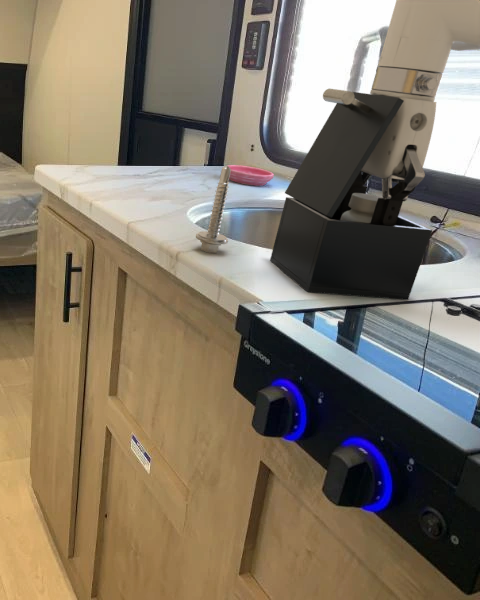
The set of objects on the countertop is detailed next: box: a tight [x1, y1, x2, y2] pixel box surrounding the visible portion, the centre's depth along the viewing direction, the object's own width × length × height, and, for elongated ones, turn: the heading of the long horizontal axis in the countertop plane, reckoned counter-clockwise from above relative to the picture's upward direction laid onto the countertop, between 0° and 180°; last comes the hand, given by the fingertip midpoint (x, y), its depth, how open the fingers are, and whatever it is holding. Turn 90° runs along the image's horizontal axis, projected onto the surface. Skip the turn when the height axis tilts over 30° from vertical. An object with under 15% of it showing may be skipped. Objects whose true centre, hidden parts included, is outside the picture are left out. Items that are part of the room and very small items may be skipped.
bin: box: [269, 196, 433, 301], centre depth 84 cm, size 15×13×10 cm
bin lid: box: [284, 88, 404, 218], centre depth 78 cm, size 15×13×5 cm
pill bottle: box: [340, 193, 383, 223], centre depth 83 cm, size 6×6×11 cm
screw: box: [195, 165, 231, 254], centre depth 89 cm, size 13×5×5 cm
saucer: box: [226, 164, 275, 187], centre depth 155 cm, size 12×12×3 cm
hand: (364, 219), depth 82 cm, fingers open, 7 cm apart
